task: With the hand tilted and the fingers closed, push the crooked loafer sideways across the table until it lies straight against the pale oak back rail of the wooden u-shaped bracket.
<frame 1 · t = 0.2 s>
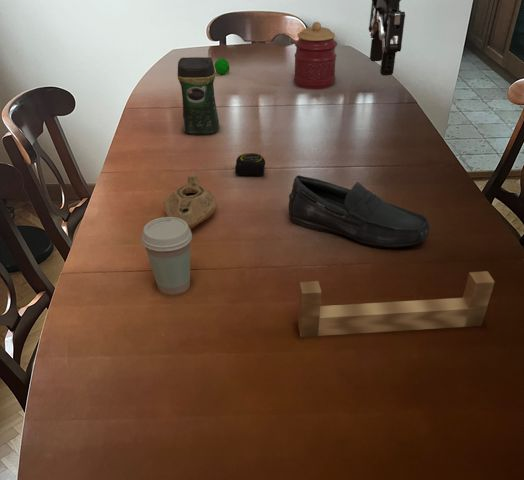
hand: (380, 67, 109), 28 cm above the table, tool pointing down, fingers open, 8 cm apart
polyhedron: (222, 75, 197), on the table
coffee cup: (174, 287, 107), on the table
kitchen canister: (314, 84, 189), on the table
wooden u-shaped bracket: (389, 326, 98), on the table
oil lamp: (192, 222, 124), on the table
loafer: (354, 233, 120), on the table
coffee jar: (201, 131, 161), on the table
tape measure: (251, 175, 141), on the table
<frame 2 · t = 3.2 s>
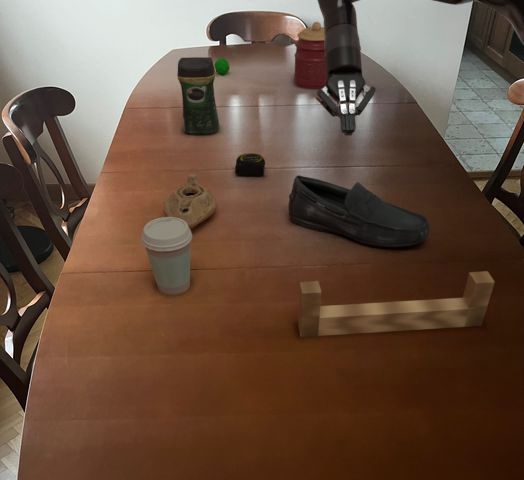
hand: (348, 133, 124), 13 cm above the table, tool tilted 45°, fingers closed
nothing on the table moved.
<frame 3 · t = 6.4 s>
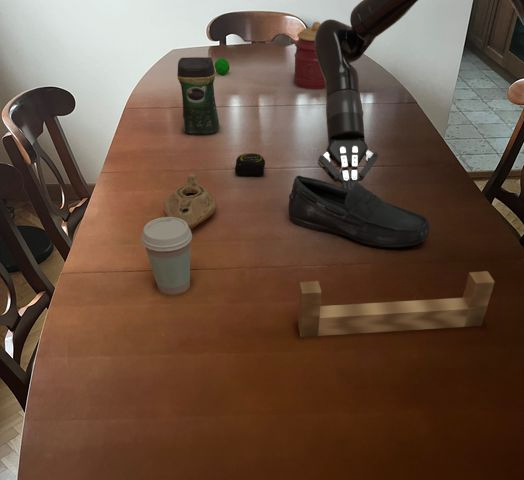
hand: (350, 200, 122), 4 cm above the table, tool tilted 45°, fingers closed
loafer: (354, 234, 120), on the table, touching gripper
everything else where it was.
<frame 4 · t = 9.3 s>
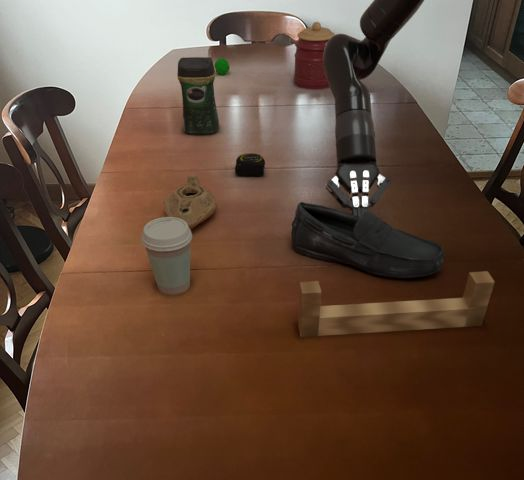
hand: (360, 228, 114), 4 cm above the table, tool tilted 45°, fingers closed
loafer: (362, 262, 112), on the table, touching gripper
everything else where it was.
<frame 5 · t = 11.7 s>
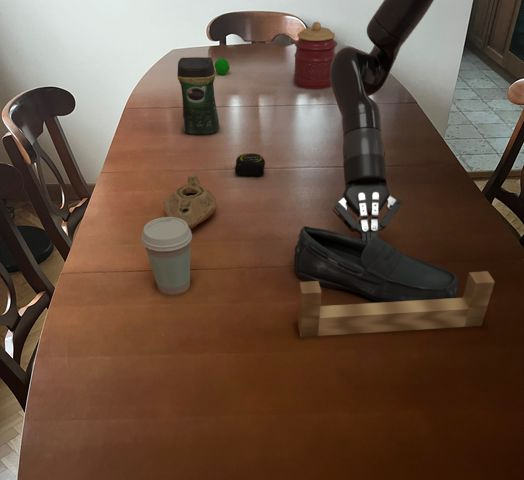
hand: (370, 253, 107), 4 cm above the table, tool tilted 45°, fingers closed
loafer: (370, 290, 105), on the table, touching gripper
everything else where it was.
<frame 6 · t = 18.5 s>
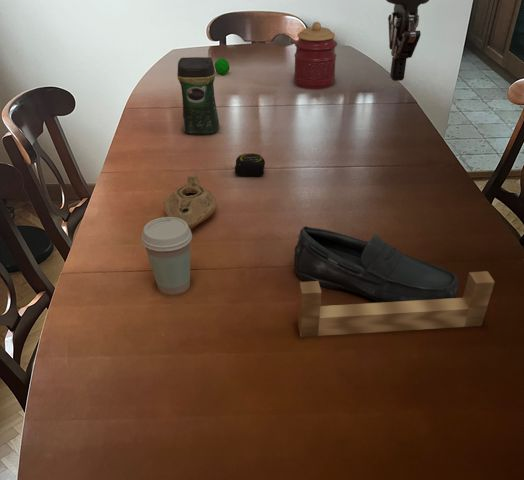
hand: (396, 79, 108), 27 cm above the table, tool pointing down, fingers closed
loafer: (370, 290, 105), on the table
everything else where it was.
at the end: loafer inside the target area on the table beside the wooden u-shaped bracket (2.7 cm from its centre), on the table; loafer tilted 0° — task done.
